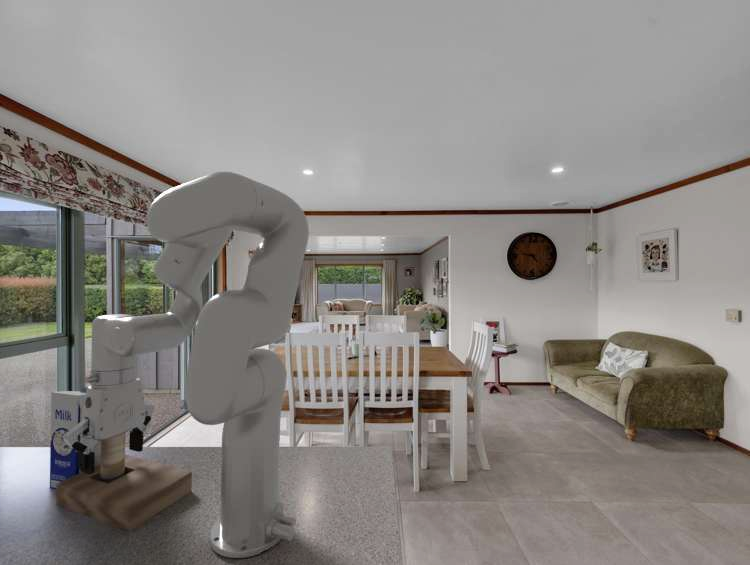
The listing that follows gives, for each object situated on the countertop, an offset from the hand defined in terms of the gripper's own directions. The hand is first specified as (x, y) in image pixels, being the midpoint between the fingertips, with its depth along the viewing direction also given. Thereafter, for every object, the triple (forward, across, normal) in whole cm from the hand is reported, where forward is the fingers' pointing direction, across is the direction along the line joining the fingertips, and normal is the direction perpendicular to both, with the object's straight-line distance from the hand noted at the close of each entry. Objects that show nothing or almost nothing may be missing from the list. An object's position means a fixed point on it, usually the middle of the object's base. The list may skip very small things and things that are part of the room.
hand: (113, 460), depth 74 cm
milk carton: (+7, 0, +11) cm, 13 cm away
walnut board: (+7, 0, -4) cm, 8 cm away
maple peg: (+6, 0, 0) cm, 6 cm away
